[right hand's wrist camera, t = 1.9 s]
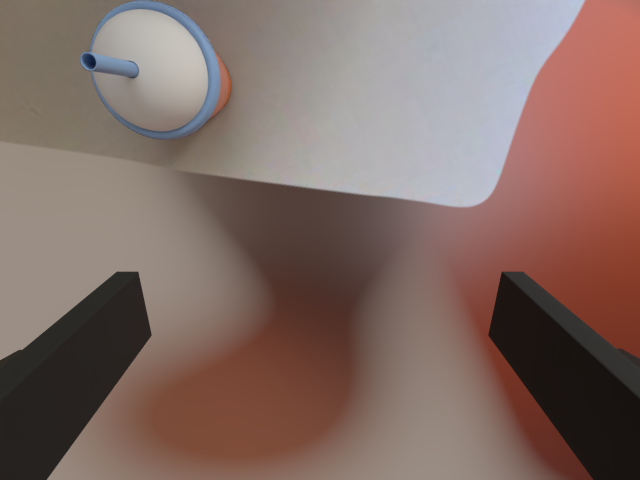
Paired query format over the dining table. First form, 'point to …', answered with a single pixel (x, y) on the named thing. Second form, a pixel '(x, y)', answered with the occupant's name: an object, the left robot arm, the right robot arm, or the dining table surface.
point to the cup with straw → (156, 70)
